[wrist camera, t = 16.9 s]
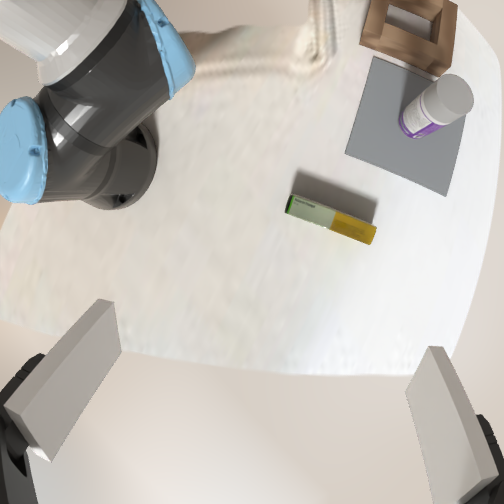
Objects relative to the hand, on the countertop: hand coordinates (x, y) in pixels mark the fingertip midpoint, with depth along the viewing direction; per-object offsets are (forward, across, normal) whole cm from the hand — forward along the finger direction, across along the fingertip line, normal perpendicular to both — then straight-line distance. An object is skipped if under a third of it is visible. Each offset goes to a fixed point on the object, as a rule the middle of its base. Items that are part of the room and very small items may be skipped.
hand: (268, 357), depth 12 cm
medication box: (+33, +6, -3) cm, 34 cm away
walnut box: (+39, +16, +28) cm, 51 cm away
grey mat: (+35, +17, +12) cm, 41 cm away
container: (+35, +17, +12) cm, 41 cm away
